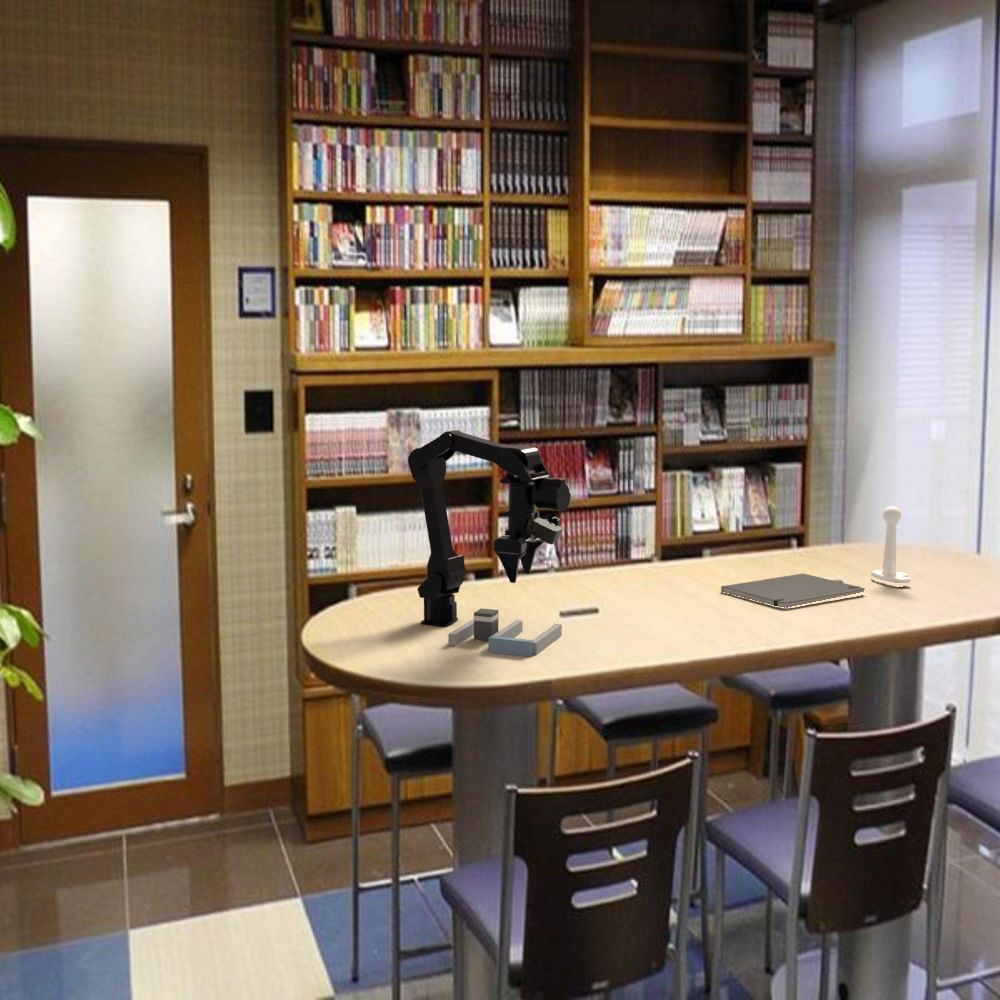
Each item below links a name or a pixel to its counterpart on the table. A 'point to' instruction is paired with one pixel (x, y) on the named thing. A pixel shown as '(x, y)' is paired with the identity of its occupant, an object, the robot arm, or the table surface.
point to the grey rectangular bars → (509, 639)
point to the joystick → (890, 550)
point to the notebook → (791, 590)
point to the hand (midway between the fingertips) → (520, 578)
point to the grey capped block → (485, 624)
